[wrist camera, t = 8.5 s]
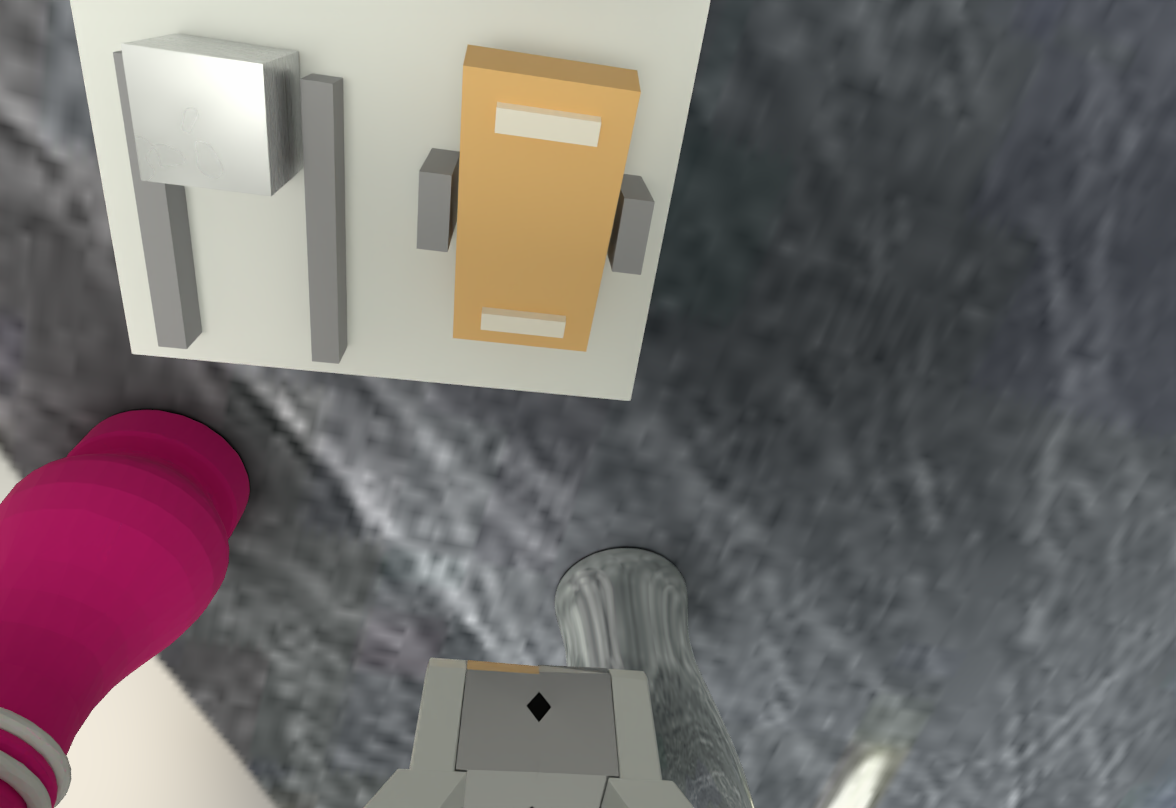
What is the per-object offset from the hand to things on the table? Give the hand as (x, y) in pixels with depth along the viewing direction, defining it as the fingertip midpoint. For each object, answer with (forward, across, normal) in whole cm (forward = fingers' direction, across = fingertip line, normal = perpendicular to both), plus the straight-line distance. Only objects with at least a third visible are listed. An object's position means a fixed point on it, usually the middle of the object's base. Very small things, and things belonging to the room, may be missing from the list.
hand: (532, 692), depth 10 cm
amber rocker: (+13, 0, -3) cm, 13 cm away
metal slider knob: (+15, +8, -4) cm, 18 cm away
